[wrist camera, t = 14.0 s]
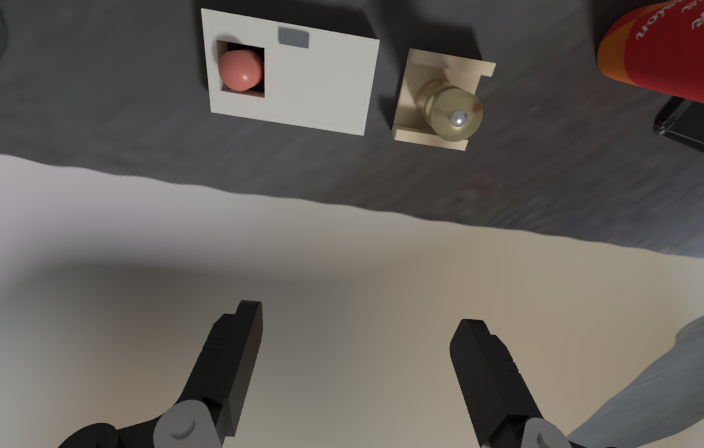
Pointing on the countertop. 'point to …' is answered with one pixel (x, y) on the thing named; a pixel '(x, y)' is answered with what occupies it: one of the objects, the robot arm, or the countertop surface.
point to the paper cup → (658, 48)
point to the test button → (241, 69)
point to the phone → (683, 123)
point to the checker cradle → (294, 73)
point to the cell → (449, 110)
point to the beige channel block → (419, 72)
